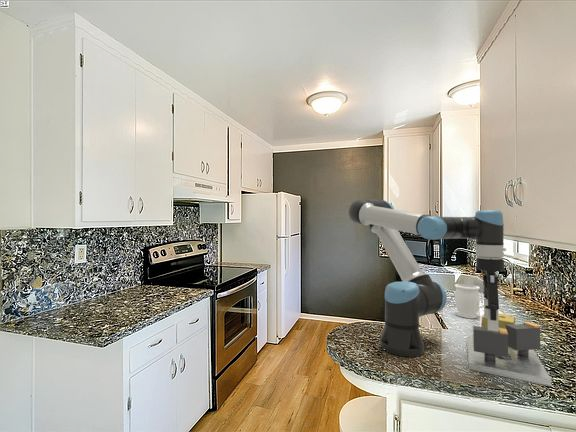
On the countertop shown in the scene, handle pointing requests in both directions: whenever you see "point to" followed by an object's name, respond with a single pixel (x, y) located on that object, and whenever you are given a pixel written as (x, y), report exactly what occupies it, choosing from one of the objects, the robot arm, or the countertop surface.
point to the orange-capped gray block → (523, 337)
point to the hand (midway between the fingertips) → (490, 324)
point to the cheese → (500, 320)
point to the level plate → (510, 365)
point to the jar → (467, 300)
